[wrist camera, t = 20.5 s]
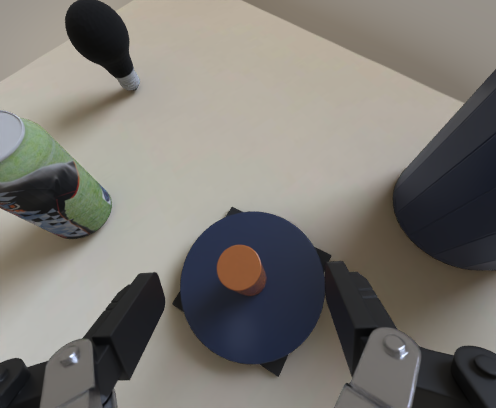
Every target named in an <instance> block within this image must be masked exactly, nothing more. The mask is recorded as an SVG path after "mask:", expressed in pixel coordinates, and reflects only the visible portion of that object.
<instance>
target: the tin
mask: <svg viewBox="0 0 496 408" xmlns="http://www.w3.org/2000/svg"><path fill="white" fill-rule="evenodd" d="M393 206H394V211H395V214H396V217H397V220H398V222H399V224H400V226H401V227H402V229H403V230H404V232H405V233H406V234H407V236H408V237H409V238H410V239H411V240H412V241H413V242H414V243H415V244H416V245H417V246H418V247H419V248H421V249H422V250H423V251H424V252H426V253H427V254H429V255H430V256H432V257H434V258H436V259H438V260H440V261H442V262H444V263H446V264H449V265H452V266H455V267H459V268H462V269H469V270H491V271H493V270H496V69H495V71H494V72H493V73H492V74H491V75H490V76H489V77H488V78H487V79H486V80H485V82H484V83H483V84H482V85H481V86H480V87H479V88H478V89H477V90H476V92H475V93H474V94H473V95H472V96H471V97H470V98H469V99H468V100H467V102H466V103H465V104H464V105H463V106H462V107H461V108H460V109H459V110H458V111H457V113H456V114H455V115H454V116H453V117H452V118H451V119H450V120H449V121H448V123H447V124H446V125H445V126H444V127H443V128H442V129H441V130H440V131H439V132H438V134H437V135H436V136H435V137H434V138H433V139H432V140H431V141H430V142H429V144H428V145H427V146H426V147H425V148H424V149H423V150H422V151H421V152H420V153H419V155H418V156H417V157H416V158H415V159H414V160H413V161H412V162H411V163H410V165H409V166H408V167H407V168H406V169H405V170H404V171H403V172H402V174H401V176H400V178H399V179H398V181H397V183H396V185H395V188H394V192H393Z"/></svg>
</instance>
